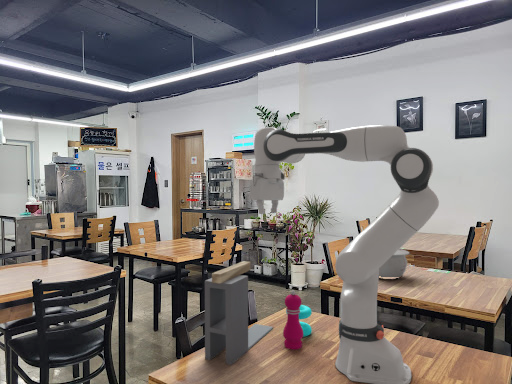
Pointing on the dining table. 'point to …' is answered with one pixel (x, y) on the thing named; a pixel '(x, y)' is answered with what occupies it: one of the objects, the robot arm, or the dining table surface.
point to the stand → (226, 318)
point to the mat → (257, 333)
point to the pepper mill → (293, 322)
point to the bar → (230, 272)
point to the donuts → (304, 314)
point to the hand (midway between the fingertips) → (268, 213)
